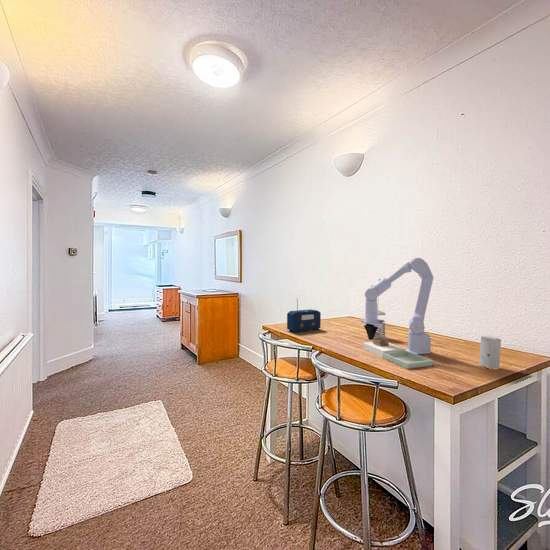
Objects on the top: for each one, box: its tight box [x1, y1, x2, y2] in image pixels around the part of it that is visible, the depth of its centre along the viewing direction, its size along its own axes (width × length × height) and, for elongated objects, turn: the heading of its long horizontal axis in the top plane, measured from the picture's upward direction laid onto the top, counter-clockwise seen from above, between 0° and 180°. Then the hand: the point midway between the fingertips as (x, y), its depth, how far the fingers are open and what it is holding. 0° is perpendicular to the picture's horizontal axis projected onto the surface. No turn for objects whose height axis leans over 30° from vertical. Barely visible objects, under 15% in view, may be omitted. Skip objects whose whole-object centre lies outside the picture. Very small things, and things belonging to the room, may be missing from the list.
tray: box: [381, 351, 434, 370], centre depth 127 cm, size 13×15×2 cm
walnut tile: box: [372, 338, 390, 346], centre depth 143 cm, size 5×5×2 cm
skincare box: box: [478, 335, 502, 369], centre depth 120 cm, size 6×4×12 cm
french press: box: [374, 295, 388, 340], centre depth 170 cm, size 10×12×25 cm
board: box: [362, 341, 406, 358], centre depth 141 cm, size 12×15×3 cm
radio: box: [286, 298, 322, 333], centre depth 189 cm, size 21×9×20 cm, turn 119°
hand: (371, 339), depth 150 cm, fingers closed
